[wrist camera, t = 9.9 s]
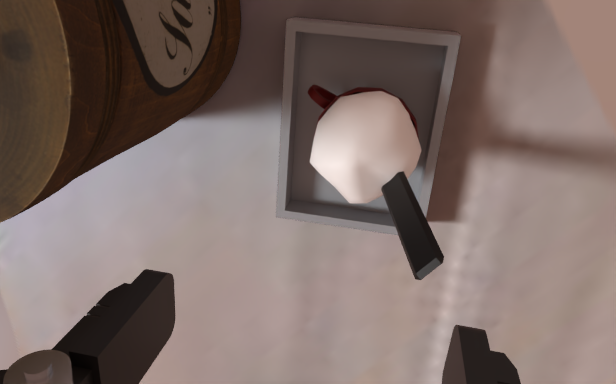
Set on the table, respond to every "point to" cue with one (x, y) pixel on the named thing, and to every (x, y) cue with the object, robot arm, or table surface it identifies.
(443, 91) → the tray
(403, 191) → the cocoa
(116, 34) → the labeled brown tin
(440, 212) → the table surface
